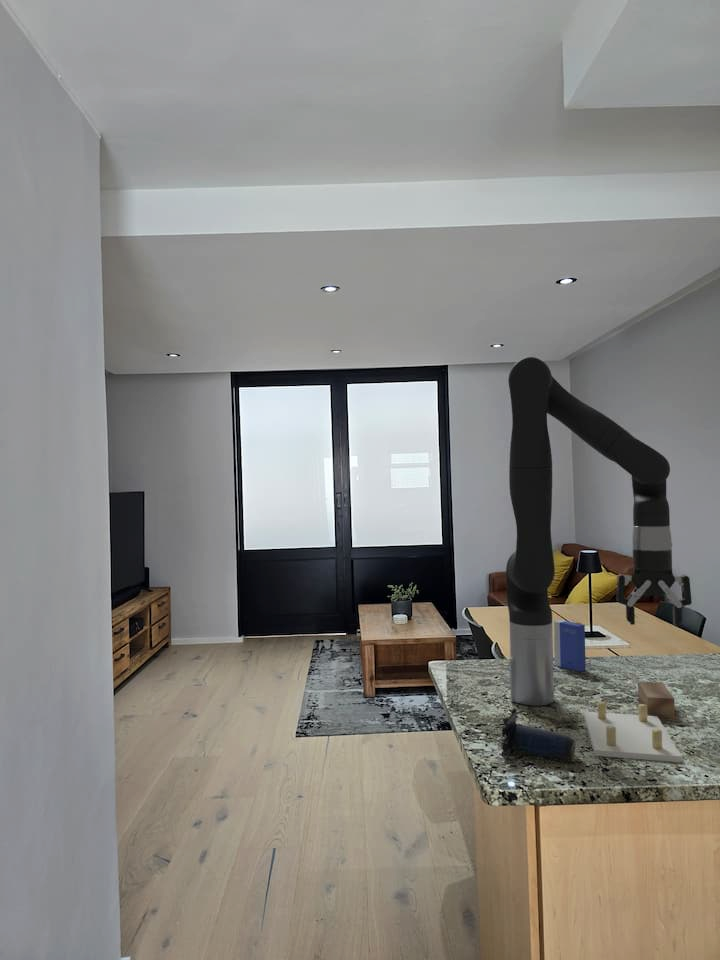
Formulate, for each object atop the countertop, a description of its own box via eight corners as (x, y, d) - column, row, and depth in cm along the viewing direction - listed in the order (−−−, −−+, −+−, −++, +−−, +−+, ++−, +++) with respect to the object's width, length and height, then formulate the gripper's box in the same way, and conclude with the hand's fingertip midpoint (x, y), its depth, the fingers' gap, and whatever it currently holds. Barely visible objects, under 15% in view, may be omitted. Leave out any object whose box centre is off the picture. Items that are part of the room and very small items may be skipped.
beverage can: (499, 765, 115) (571, 780, 109) (499, 724, 113) (571, 739, 108) (511, 737, 123) (578, 751, 117) (511, 699, 121) (578, 711, 116)
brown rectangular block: (648, 719, 132) (647, 697, 132) (638, 702, 143) (637, 681, 143) (674, 721, 131) (674, 698, 131) (663, 703, 142) (662, 682, 142)
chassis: (594, 755, 114) (594, 732, 114) (583, 716, 134) (583, 696, 134) (681, 762, 111) (681, 738, 111) (657, 721, 130) (657, 701, 130)
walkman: (585, 670, 167) (584, 623, 167) (578, 672, 166) (577, 624, 166) (561, 663, 174) (560, 618, 174) (554, 665, 172) (553, 619, 172)
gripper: (684, 545, 139) (686, 622, 139) (613, 545, 143) (615, 620, 143) (693, 549, 132) (695, 629, 132) (618, 548, 135) (620, 627, 135)
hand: (653, 624), depth 137 cm, fingers open, 8 cm apart
